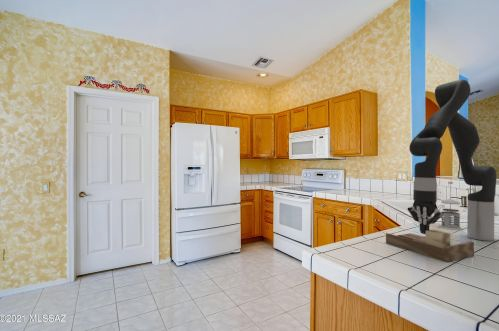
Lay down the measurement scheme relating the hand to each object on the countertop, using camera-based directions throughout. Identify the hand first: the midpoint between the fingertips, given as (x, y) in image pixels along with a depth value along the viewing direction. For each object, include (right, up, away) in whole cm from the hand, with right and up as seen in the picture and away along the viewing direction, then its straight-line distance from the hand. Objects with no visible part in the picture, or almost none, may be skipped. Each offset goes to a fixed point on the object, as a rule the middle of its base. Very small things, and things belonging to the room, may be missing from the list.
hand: (424, 233), depth 100 cm
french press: (+39, -7, +38) cm, 55 cm away
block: (+2, -4, -4) cm, 6 cm away
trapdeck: (+3, -7, +2) cm, 8 cm away
